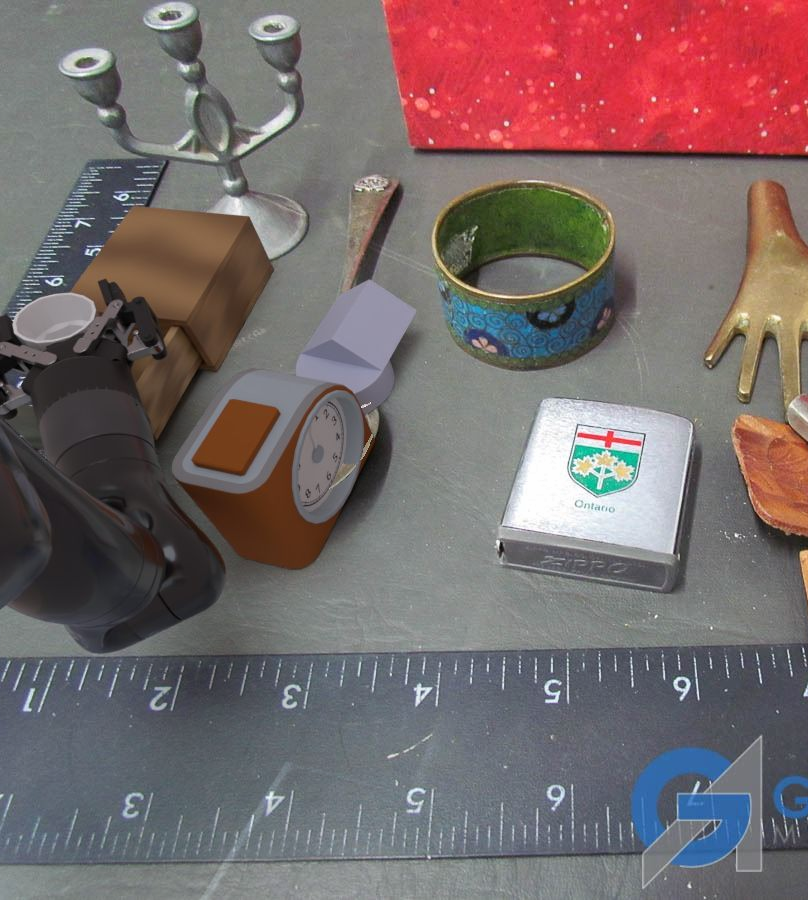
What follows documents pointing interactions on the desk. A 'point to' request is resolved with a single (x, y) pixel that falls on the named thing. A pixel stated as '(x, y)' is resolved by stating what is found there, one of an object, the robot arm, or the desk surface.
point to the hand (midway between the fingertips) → (58, 304)
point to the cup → (54, 319)
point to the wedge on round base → (358, 343)
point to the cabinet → (185, 272)
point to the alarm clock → (274, 463)
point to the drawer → (142, 383)
